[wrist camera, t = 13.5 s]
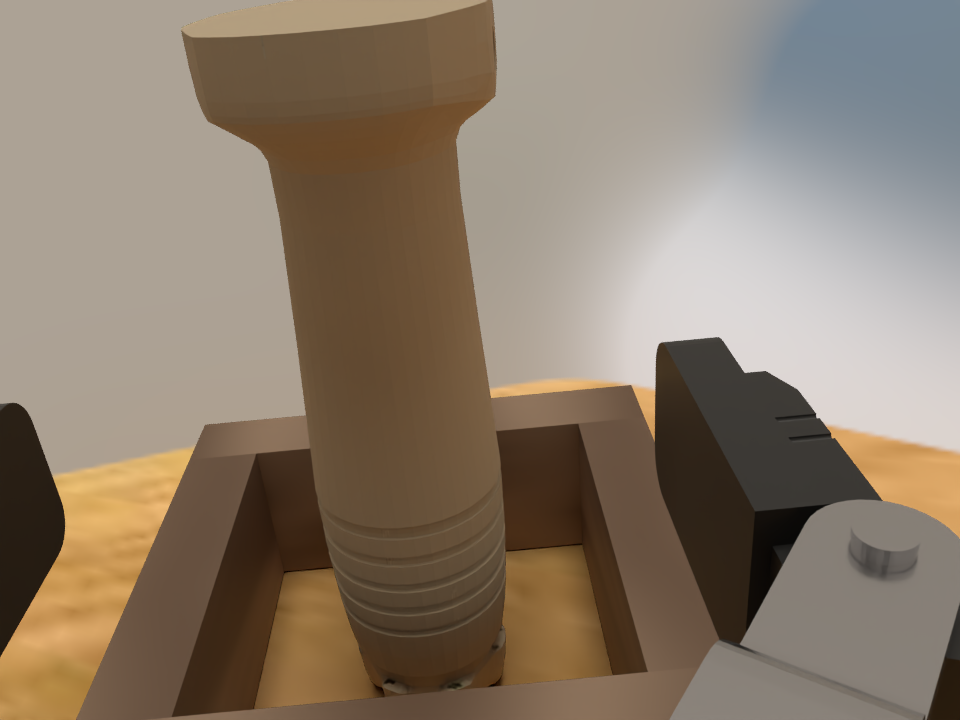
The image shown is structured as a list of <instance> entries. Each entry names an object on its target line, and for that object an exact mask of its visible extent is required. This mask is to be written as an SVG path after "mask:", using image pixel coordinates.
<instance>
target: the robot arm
mask: <svg viewBox="0 0 960 720" xmlns="http://www.w3.org/2000/svg"><path fill="white" fill-rule="evenodd" d="M655 461H656V470H657V476H658V481H659V486H660V490H661V493H662V496H663V499H664V502H665V504H666V507H667V509H668V512H669V514H670V517H671V519H672V522H673V524H674V527H675V529H676V532H677V534H678V537H679V539H680V542H681V544H682V547H683V549H684V552H685V554H686V557H687V560H688V562H689V565H690V567H691V570H692V572H693V575H694V577H695V580H696V582H697V585H698V587H699V590H700V592H701V595H702V597H703V600H704V602H705V605H706V607H707V610H708V612H709V615H710V617H711V620H712V622H713V625H714V627H715V630H716V632H717V635H718V637H719V640H718V641H717V642H716V643H715V644H714V645H713V646H712V648H711V649H710V650H709V652H708V653H707V655H706V657H705V658H704V660H703V662H702V663H701V665H700V667H699V669H698V670H697V672H696V674H695V676H694V677H693V679H692V681H691V683H690V684H689V686H688V688H687V690H686V691H685V693H684V695H683V697H682V698H681V700H680V702H679V703H678V705H677V707H676V709H675V710H674V712H673V714H672V716H671V717H670V719H669V720H960V539H959V538H958V536H957V535H956V534H954V533H953V532H952V531H951V530H950V529H949V528H948V527H946V526H945V525H944V524H942V523H941V522H939V521H938V520H936V519H934V518H932V517H931V516H929V515H927V514H925V513H922V512H920V511H918V510H915V509H913V508H909V507H906V506H903V505H900V504H895V503H891V502H886V501H883V500H882V499H881V498H880V497H879V495H878V494H877V493H876V491H875V490H874V489H873V487H872V486H871V485H870V483H869V482H868V481H867V480H866V478H865V477H864V476H863V474H862V473H861V472H860V470H859V469H858V468H857V466H856V465H855V464H854V463H853V461H852V460H851V459H850V457H849V456H848V455H847V453H846V452H845V451H844V450H843V448H842V447H841V446H840V444H839V443H838V442H837V440H836V439H835V438H833V439H832V438H831V433H830V431H829V430H828V429H827V427H826V426H825V425H824V423H823V422H822V421H821V420H820V418H818V419H817V418H816V413H815V412H814V410H813V409H812V408H811V406H810V405H809V404H808V402H807V401H806V400H805V399H804V397H803V396H802V395H801V393H800V392H799V391H798V390H797V389H795V388H794V387H792V386H790V385H789V384H787V383H785V382H783V381H782V380H780V379H778V378H777V377H775V376H773V375H771V374H770V373H768V372H766V371H763V372H751V373H744V372H743V370H742V369H741V367H740V366H739V364H738V363H737V361H736V360H735V358H734V357H733V355H732V354H731V352H730V351H729V349H728V348H727V346H726V345H725V343H724V342H723V341H722V339H720V338H719V337H718V338H717V337H715V338H705V339H694V340H684V341H674V342H663V343H660V344H659V346H658V349H657V355H656V393H655ZM64 534H65V516H64V510H63V505H62V502H61V499H60V496H59V493H58V491H57V488H56V485H55V483H54V480H53V477H52V474H51V472H50V469H49V466H48V464H47V461H46V458H45V455H44V453H43V450H42V447H41V444H40V441H39V439H38V436H37V433H36V430H35V428H34V425H33V422H32V420H31V418H30V416H29V414H28V412H27V411H26V410H25V409H24V408H23V407H22V406H21V405H19V404H17V403H7V404H0V657H1V655H2V653H3V651H4V649H5V648H6V646H7V644H8V642H9V641H10V639H11V637H12V635H13V634H14V632H15V630H16V628H17V627H18V625H19V623H20V621H21V620H22V618H23V616H24V614H25V613H26V611H27V609H28V607H29V606H30V604H31V602H32V600H33V599H34V597H35V595H36V593H37V592H38V590H39V588H40V586H41V585H42V583H43V581H44V579H45V578H46V576H47V574H48V572H49V571H50V569H51V567H52V565H53V564H54V562H55V560H56V558H57V557H58V555H59V553H60V551H61V548H62V545H63V540H64Z"/></svg>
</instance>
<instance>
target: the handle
mask: <svg viewBox="0 0 960 720" xmlns="http://www.w3.org/2000/svg"><path fill="white" fill-rule="evenodd" d="M181 32H182V36H183V41H184V46H185V50H186V55H187V59H188V65H189V69H190V72H191V76H192V80H193V84H194V88H195V92H196V96H197V99H198V101H199V104H200V106H201V109H202V111H203V113H204V115H205V117H206V119H207V120H208V122H210V123H212V124H214V125H216V126H218V127H220V128H222V129H224V130H226V131H228V132H230V133H232V134H234V135H236V136H238V137H240V138H241V139H243V140H245V141H247V142H249V143H251V144H253V145H254V146H256V147H257V148H258V149H260V150H261V151H262V153H263V155H264V156H265V158H266V159H267V161H268V163H269V168H270V173H271V178H272V183H273V188H274V193H275V198H276V203H277V208H278V212H279V217H280V224H281V231H282V238H283V245H284V253H285V260H286V267H287V275H288V282H289V289H290V296H291V304H292V311H293V319H294V325H295V332H296V340H297V348H298V355H299V363H300V371H301V379H302V387H303V395H304V403H305V410H306V419H307V427H308V435H309V443H310V451H311V458H312V466H313V474H314V482H315V490H316V493H317V496H318V505H319V509H320V514H321V519H322V522H323V528H324V533H325V538H326V542H327V546H328V549H329V555H330V558H331V562H332V566H333V569H334V572H335V577H336V580H337V584H338V587H339V591H340V594H341V598H342V601H343V604H344V607H345V610H346V613H347V616H348V619H349V622H350V625H351V628H352V630H353V632H354V635H355V637H356V640H357V642H358V644H359V649H360V653H361V656H362V659H363V662H364V666H365V669H366V671H367V673H368V675H369V677H370V680H371V682H373V683H374V684H375V685H376V686H378V687H382V688H383V691H384V694H385V697H390V696H401V695H411V694H422V693H432V692H443V691H453V690H464V689H474V688H485V687H488V686H490V685H491V684H495V683H496V682H497V681H498V680H499V679H500V677H501V675H502V671H503V665H504V658H505V642H506V634H505V628H504V626H503V625H502V617H503V608H504V600H505V579H506V570H505V565H506V559H505V522H504V505H503V491H502V476H501V468H500V467H501V463H500V454H499V448H498V441H497V435H496V428H495V422H494V415H493V409H492V402H491V396H490V390H489V383H488V377H487V370H486V364H485V358H484V352H483V345H482V338H481V332H480V326H479V319H478V312H477V305H476V298H475V291H474V284H473V277H472V271H471V264H470V256H469V249H468V243H467V236H466V229H465V222H464V215H463V208H462V201H461V194H460V182H459V170H458V159H457V147H456V139H457V135H458V132H459V129H460V126H461V125H462V124H463V123H464V122H465V121H466V120H467V119H468V118H469V117H471V116H472V115H474V114H475V113H476V112H478V111H479V110H480V109H481V108H482V107H484V106H485V105H486V104H487V103H488V102H489V101H490V100H491V99H492V98H494V97H495V92H496V69H497V65H496V64H497V59H496V41H495V27H494V13H493V3H492V0H293V1H286V2H280V3H275V4H269V5H263V6H258V7H253V8H248V9H242V10H237V11H232V12H228V13H223V14H219V15H215V16H212V17H208V18H206V19H203V20H199V21H196V22H194V23H191V24H188V25H186V26H184V27H182V29H181Z"/></svg>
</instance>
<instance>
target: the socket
mask: <svg viewBox="0 0 960 720" xmlns="http://www.w3.org/2000/svg"><path fill="white" fill-rule="evenodd" d="M491 402H492V409H493V415H494V422H495V428H496V435H497V441H498V448H499V454H500V463H501V467H500V468H501V476H502V491H503V505H504V522H505V551H506V550H517V549H527V548H538V547H549V546H559V545H570V544H581V543H582V544H583V549H584V553H585V557H586V562H587V566H588V570H589V574H590V579H591V583H592V587H593V591H594V596H595V600H596V604H597V609H598V613H599V617H600V621H601V626H602V630H603V634H604V638H605V643H606V647H607V651H608V656H609V660H610V664H611V668H612V673H613V675H611V676H601V677H590V678H580V679H569V680H559V681H548V682H538V683H527V684H517V685H506V686H496V687H485V688H474V689H464V690H453V691H443V692H432V693H422V694H411V695H401V696H390V697H380V698H369V699H358V700H348V701H337V702H327V703H316V704H306V705H295V706H285V707H274V708H264V709H253V708H254V703H255V699H256V694H257V690H258V685H259V681H260V676H261V672H262V667H263V663H264V658H265V654H266V650H267V645H268V641H269V636H270V632H271V627H272V623H273V618H274V614H275V609H276V605H277V600H278V596H279V591H280V587H281V582H282V578H283V573H284V571H293V570H304V569H315V568H325V567H333V566H332V562H331V558H330V555H329V549H328V546H327V542H326V538H325V533H324V528H323V522H322V519H321V514H320V509H319V505H318V496H317V493H316V490H315V482H314V474H313V466H312V458H311V451H310V443H309V435H308V427H307V419H306V416H296V417H285V418H274V419H264V420H253V421H241V422H231V423H220V424H209V425H205V426H204V429H203V431H202V433H201V435H200V438H199V440H198V442H197V445H196V447H195V449H194V451H193V454H192V456H191V458H190V461H189V463H188V465H187V467H186V470H185V472H184V474H183V477H182V479H181V481H180V483H179V486H178V488H177V490H176V493H175V495H174V497H173V499H172V502H171V504H170V506H169V509H168V511H167V513H166V515H165V518H164V520H163V522H162V525H161V527H160V529H159V531H158V534H157V536H156V538H155V541H154V543H153V545H152V547H151V550H150V552H149V554H148V557H147V559H146V561H145V563H144V566H143V568H142V570H141V573H140V575H139V577H138V579H137V582H136V584H135V586H134V589H133V591H132V593H131V595H130V598H129V600H128V602H127V605H126V607H125V609H124V611H123V614H122V616H121V618H120V621H119V623H118V625H117V627H116V630H115V632H114V634H113V637H112V639H111V641H110V643H109V646H108V648H107V650H106V653H105V655H104V657H103V659H102V662H101V664H100V666H99V669H98V671H97V673H96V675H95V678H94V680H93V682H92V685H91V687H90V689H89V691H88V694H87V696H86V698H85V700H84V703H83V705H82V707H81V710H80V712H79V714H78V716H77V719H76V720H669V719H670V717H671V716H672V714H673V712H674V710H675V709H676V707H677V705H678V703H679V702H680V700H681V698H682V697H683V695H684V693H685V691H686V690H687V688H688V686H689V684H690V683H691V681H692V679H693V677H694V676H695V674H696V672H697V670H698V669H699V667H700V665H701V663H702V662H703V660H704V658H705V657H706V655H707V653H708V652H709V650H710V649H711V648H712V646H713V645H714V644H715V643H716V642H717V641H718V640H719V637H718V635H717V632H716V630H715V627H714V625H713V622H712V620H711V617H710V615H709V612H708V610H707V607H706V605H705V602H704V600H703V597H702V595H701V592H700V590H699V587H698V585H697V582H696V580H695V577H694V575H693V572H692V570H691V567H690V565H689V562H688V560H687V557H686V554H685V552H684V549H683V547H682V544H681V542H680V539H679V537H678V534H677V532H676V529H675V527H674V524H673V522H672V519H671V517H670V514H669V512H668V509H667V507H666V504H665V502H664V499H663V496H662V493H661V490H660V486H659V481H658V476H657V470H656V461H655V442H654V439H653V437H652V435H651V432H650V430H649V427H648V425H647V423H646V420H645V418H644V415H643V413H642V410H641V408H640V406H639V403H638V401H637V398H636V396H635V393H634V391H633V389H632V386H631V385H628V386H617V387H606V388H596V389H585V390H574V391H563V392H553V393H542V394H531V395H520V396H510V397H499V398H491Z"/></svg>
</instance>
